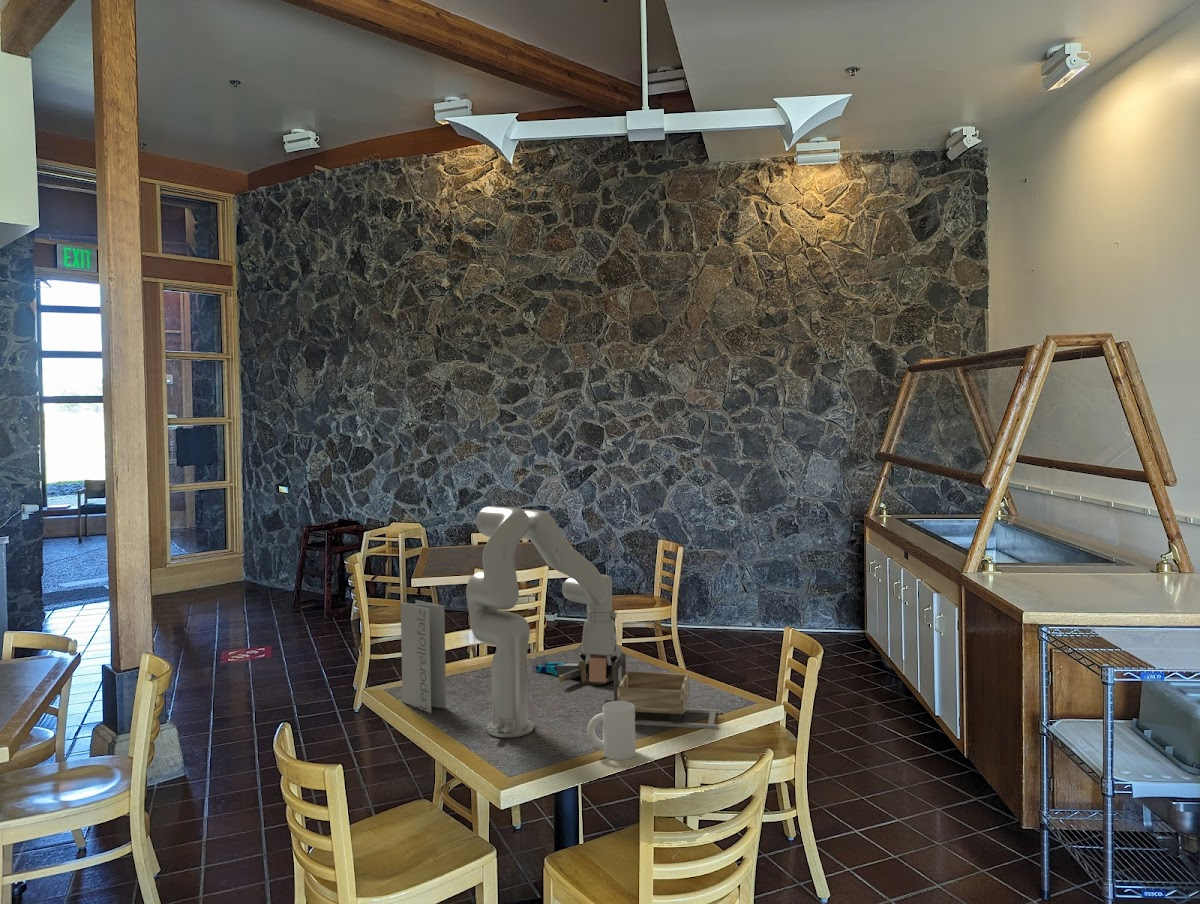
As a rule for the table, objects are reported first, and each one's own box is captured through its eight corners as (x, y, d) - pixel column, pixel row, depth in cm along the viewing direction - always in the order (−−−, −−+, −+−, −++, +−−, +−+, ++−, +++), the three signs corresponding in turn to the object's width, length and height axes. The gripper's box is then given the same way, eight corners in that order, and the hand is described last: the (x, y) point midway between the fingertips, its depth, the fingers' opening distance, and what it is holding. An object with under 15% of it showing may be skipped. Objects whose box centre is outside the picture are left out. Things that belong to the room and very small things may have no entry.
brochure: (402, 702, 244) (400, 602, 244) (418, 698, 248) (416, 599, 248) (430, 713, 235) (428, 609, 234) (446, 708, 239) (444, 606, 238)
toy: (561, 648, 288) (630, 648, 270) (564, 670, 288) (633, 671, 270) (510, 665, 267) (581, 666, 249) (513, 689, 267) (584, 692, 249)
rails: (717, 729, 218) (717, 726, 218) (622, 723, 224) (622, 720, 223) (720, 712, 231) (720, 709, 231) (629, 707, 237) (629, 704, 237)
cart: (683, 724, 219) (682, 669, 219) (612, 721, 223) (611, 666, 222) (689, 705, 235) (688, 653, 234) (622, 702, 238) (621, 651, 238)
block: (605, 682, 242) (605, 658, 242) (589, 681, 243) (589, 657, 243) (608, 678, 247) (608, 654, 247) (592, 677, 248) (592, 653, 248)
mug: (586, 748, 206) (586, 701, 206) (633, 746, 207) (633, 699, 207) (587, 761, 198) (587, 712, 198) (636, 759, 199) (636, 710, 198)
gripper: (629, 615, 247) (628, 675, 247) (574, 612, 250) (574, 672, 250) (625, 620, 240) (624, 682, 240) (568, 617, 243) (568, 678, 243)
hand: (598, 676), depth 245 cm, fingers closed on block, 5 cm apart
